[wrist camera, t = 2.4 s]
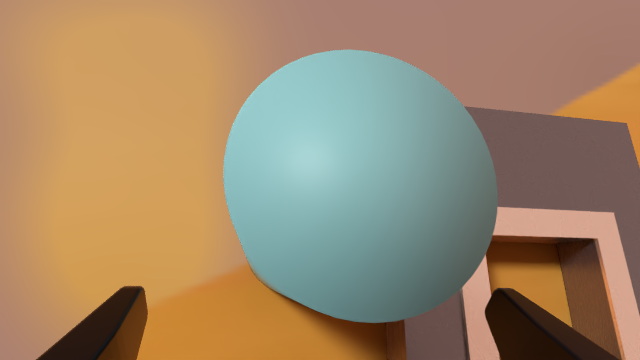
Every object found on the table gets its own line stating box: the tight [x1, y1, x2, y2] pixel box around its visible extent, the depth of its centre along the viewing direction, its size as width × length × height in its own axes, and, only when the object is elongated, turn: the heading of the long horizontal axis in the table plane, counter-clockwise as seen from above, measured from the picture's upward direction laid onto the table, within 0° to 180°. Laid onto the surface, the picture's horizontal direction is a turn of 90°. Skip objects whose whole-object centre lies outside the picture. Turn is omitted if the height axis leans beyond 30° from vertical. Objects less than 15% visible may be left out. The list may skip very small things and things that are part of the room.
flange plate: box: [385, 107, 640, 360], centre depth 18 cm, size 22×16×3 cm
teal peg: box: [223, 50, 498, 323], centre depth 12 cm, size 5×5×13 cm
